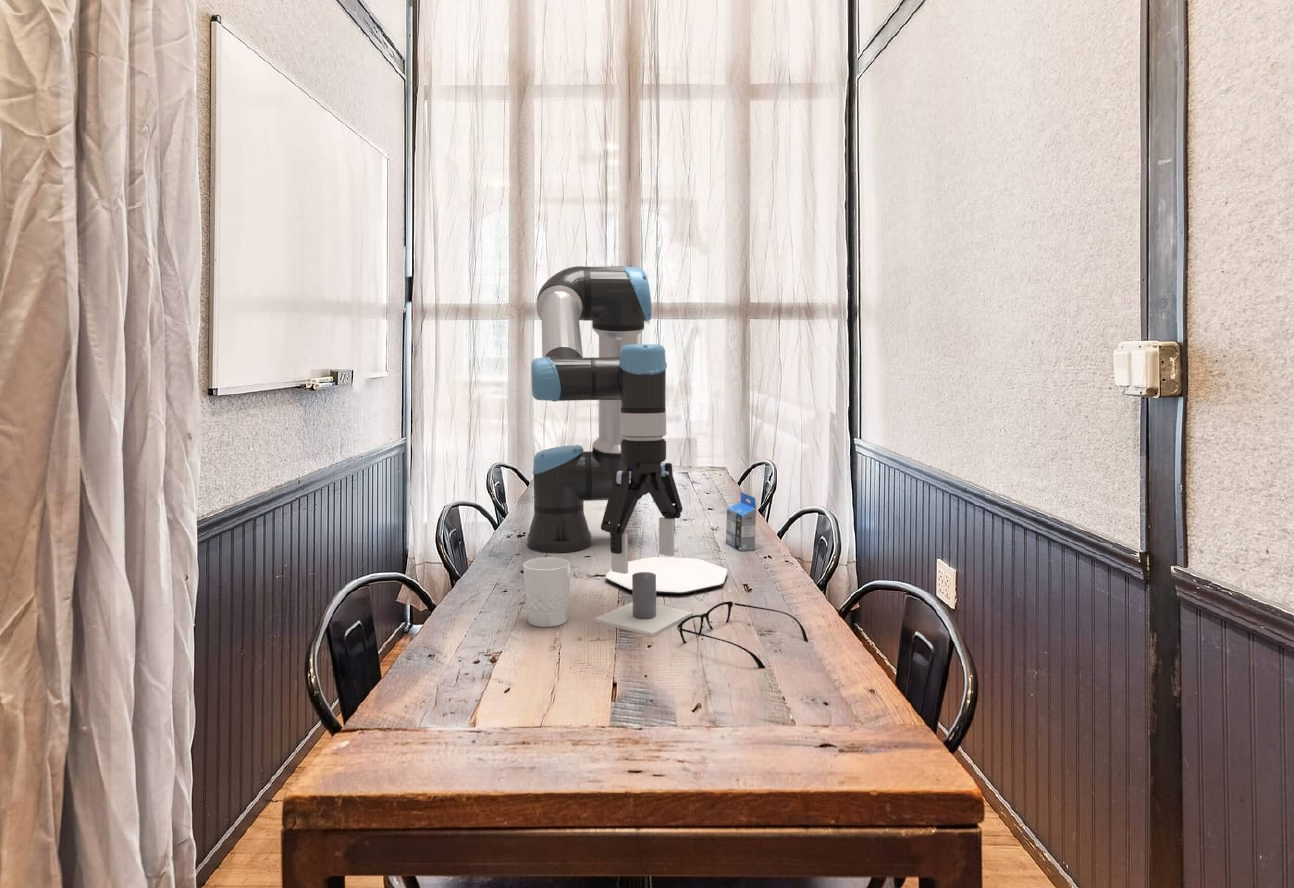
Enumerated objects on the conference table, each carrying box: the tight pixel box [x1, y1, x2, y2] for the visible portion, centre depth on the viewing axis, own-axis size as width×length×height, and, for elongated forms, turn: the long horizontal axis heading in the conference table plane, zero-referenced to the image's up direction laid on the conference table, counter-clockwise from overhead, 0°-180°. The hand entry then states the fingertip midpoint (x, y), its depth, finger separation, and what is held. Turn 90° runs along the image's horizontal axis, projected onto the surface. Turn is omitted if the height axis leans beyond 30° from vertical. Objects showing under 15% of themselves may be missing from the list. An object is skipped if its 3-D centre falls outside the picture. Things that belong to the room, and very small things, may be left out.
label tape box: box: [725, 491, 757, 552], centre depth 178 cm, size 9×4×12 cm, turn 17°
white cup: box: [522, 556, 571, 628], centre depth 129 cm, size 8×8×10 cm
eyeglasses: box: [676, 601, 809, 669], centre depth 119 cm, size 16×16×4 cm
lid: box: [594, 572, 694, 638], centre depth 129 cm, size 12×12×8 cm
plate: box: [604, 556, 729, 595], centre depth 153 cm, size 24×24×2 cm
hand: (644, 563), depth 128 cm, fingers open, 13 cm apart
